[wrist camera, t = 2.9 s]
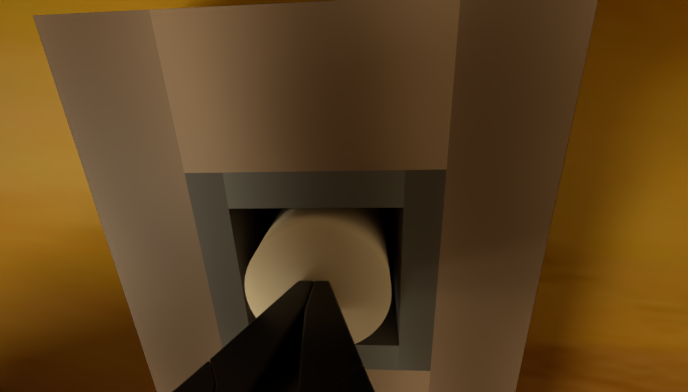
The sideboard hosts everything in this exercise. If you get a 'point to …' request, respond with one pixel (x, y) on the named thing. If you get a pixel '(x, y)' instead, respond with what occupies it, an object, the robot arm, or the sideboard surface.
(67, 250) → the sideboard surface
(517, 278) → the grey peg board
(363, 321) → the beech peg
